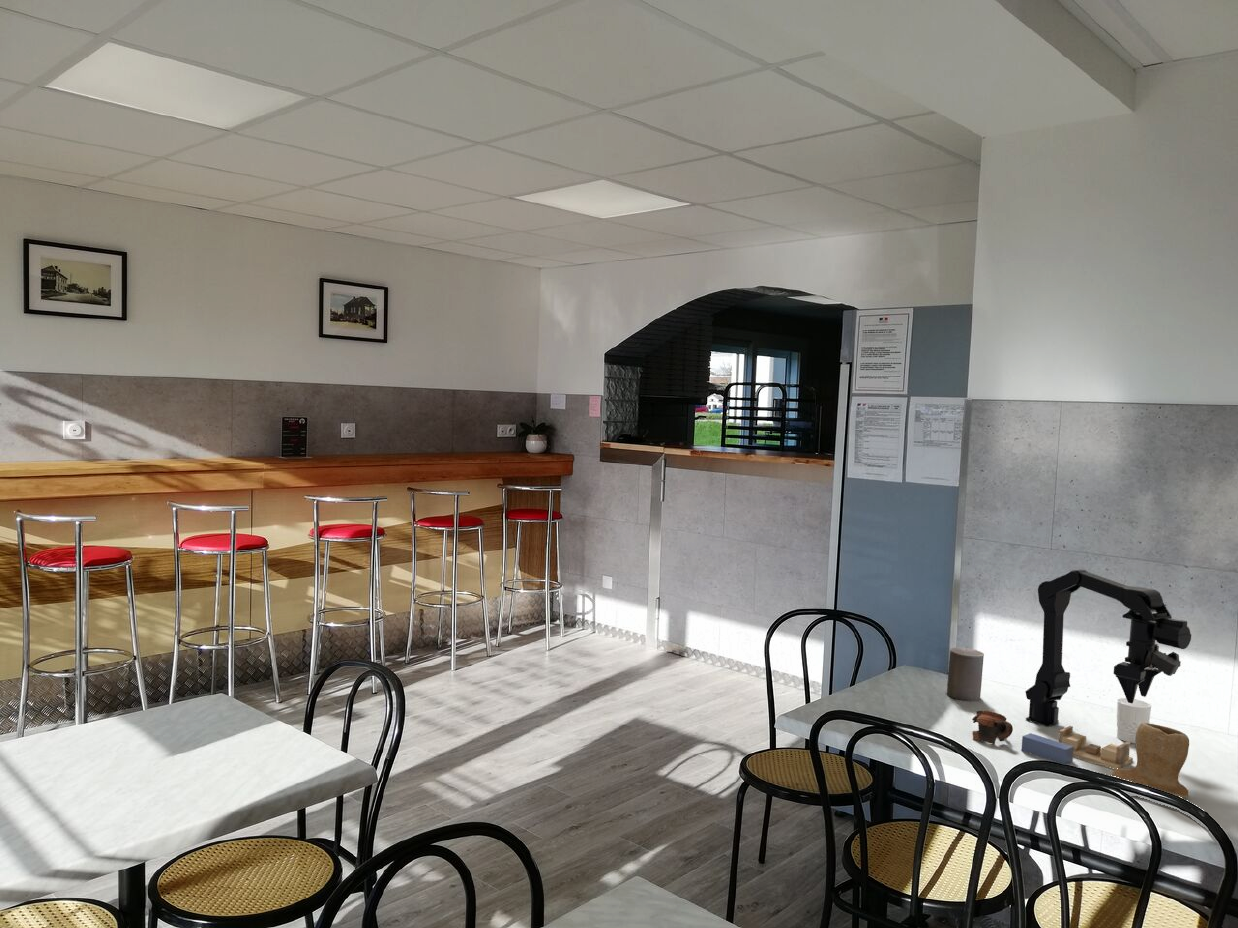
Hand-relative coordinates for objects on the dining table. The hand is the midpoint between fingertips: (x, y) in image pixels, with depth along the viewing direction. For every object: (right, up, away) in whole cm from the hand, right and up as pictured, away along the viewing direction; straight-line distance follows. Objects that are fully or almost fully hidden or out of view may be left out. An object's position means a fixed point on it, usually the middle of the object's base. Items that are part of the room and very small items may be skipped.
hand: (1137, 699), depth 234 cm
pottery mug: (-34, -12, +7) cm, 37 cm away
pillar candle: (-28, -10, +44) cm, 53 cm away
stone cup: (-10, -15, -23) cm, 29 cm away
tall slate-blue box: (-25, -13, -4) cm, 28 cm away
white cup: (+5, -14, +11) cm, 18 cm away
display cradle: (-13, -14, -3) cm, 19 cm away
